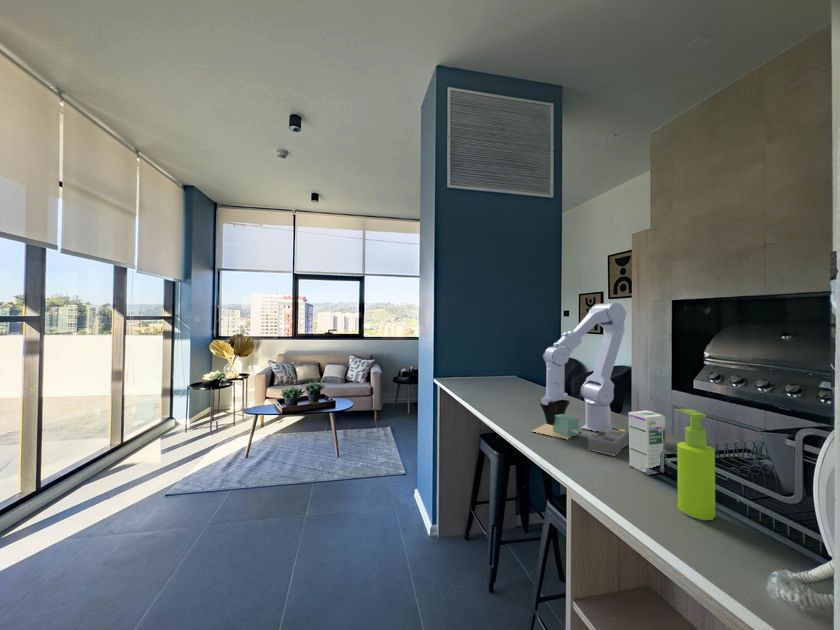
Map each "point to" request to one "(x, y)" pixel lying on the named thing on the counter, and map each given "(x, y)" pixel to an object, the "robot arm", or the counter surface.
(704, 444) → the soap dispenser
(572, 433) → the charger
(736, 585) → the counter surface
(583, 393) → the robot arm
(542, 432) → the cork mat
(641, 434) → the syrup box
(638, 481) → the counter surface
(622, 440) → the power strip
